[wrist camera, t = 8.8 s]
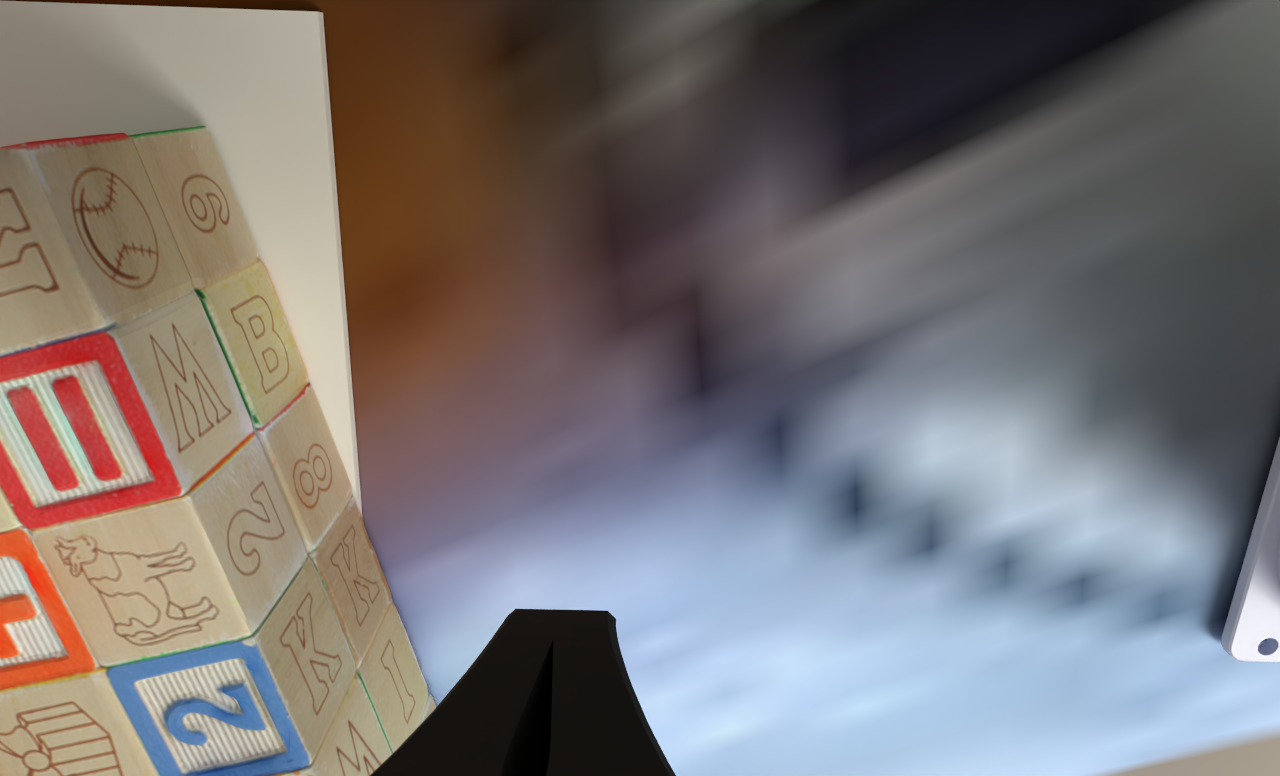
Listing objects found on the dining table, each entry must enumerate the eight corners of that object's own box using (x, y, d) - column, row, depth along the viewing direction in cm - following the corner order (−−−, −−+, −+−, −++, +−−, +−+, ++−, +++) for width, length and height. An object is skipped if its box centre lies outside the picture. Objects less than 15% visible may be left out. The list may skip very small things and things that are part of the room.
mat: (322, 12, 19) (317, 11, 18) (386, 828, 26) (383, 836, 25) (-59, -1, 19) (-70, -2, 18) (111, 821, 26) (106, 829, 25)
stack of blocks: (463, 1088, 20) (-31, 1174, 21) (505, 857, 26) (119, 933, 27) (11, 131, 13) (-685, 330, 14) (209, 115, 19) (-293, 256, 20)
